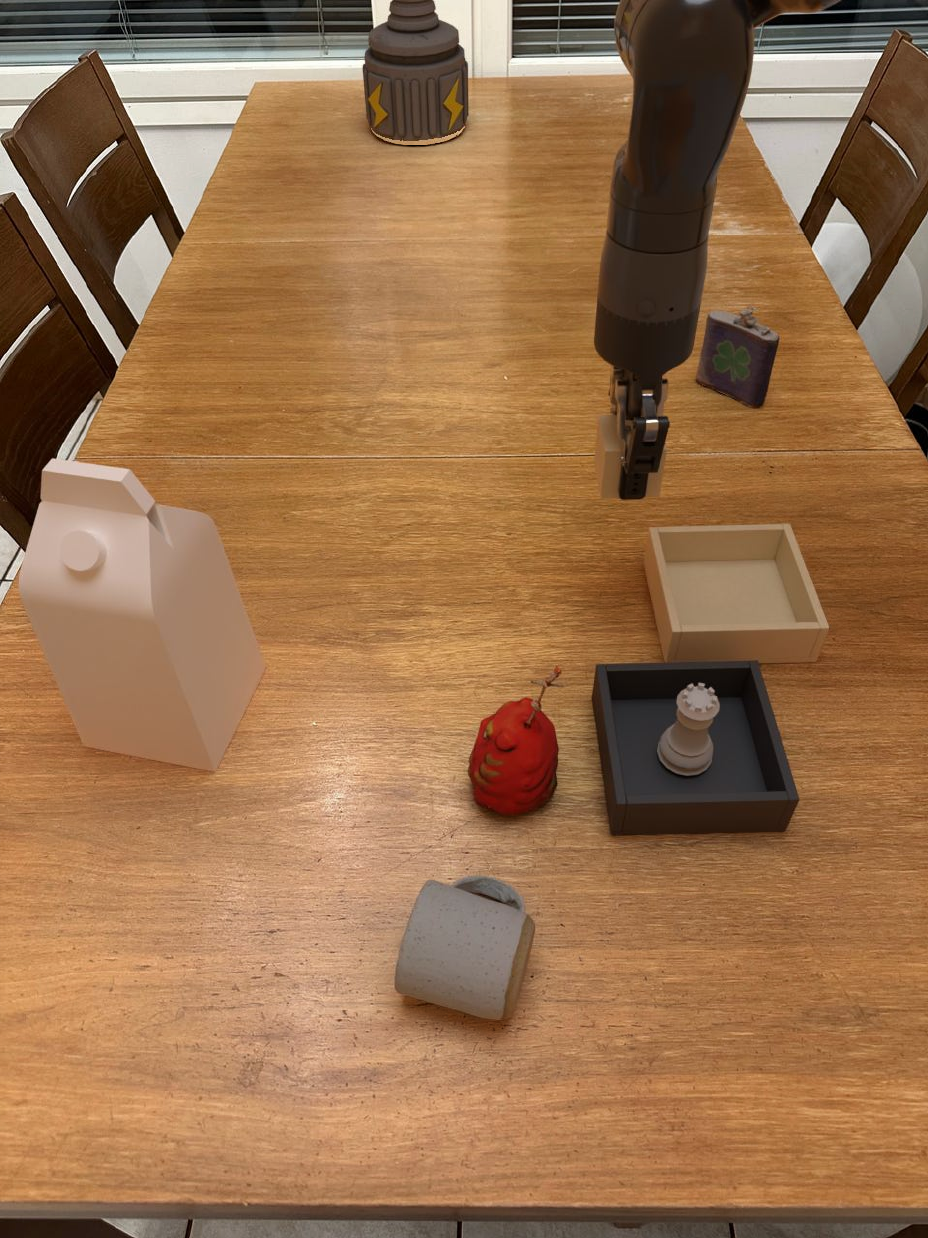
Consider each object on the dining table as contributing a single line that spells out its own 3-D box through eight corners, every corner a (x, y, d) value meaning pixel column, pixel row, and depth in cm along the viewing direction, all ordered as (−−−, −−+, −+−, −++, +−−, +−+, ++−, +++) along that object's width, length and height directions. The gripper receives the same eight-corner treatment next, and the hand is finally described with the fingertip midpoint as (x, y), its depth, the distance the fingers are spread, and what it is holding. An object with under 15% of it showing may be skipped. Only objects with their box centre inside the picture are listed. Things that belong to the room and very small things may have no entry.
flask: (691, 381, 116) (706, 300, 108) (705, 371, 117) (721, 290, 109) (756, 411, 111) (777, 328, 103) (770, 401, 113) (792, 318, 105)
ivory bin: (779, 558, 94) (790, 523, 91) (816, 662, 85) (829, 628, 82) (642, 561, 94) (648, 526, 91) (665, 666, 85) (672, 631, 82)
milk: (266, 667, 86) (203, 430, 66) (215, 772, 78) (128, 538, 59) (144, 646, 88) (49, 410, 68) (83, 746, 80) (-43, 512, 61)
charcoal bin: (746, 694, 83) (757, 659, 79) (785, 831, 73) (800, 799, 70) (591, 697, 83) (595, 663, 79) (610, 835, 73) (616, 804, 70)
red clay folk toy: (491, 736, 80) (492, 615, 69) (570, 762, 78) (584, 642, 67) (456, 809, 75) (451, 691, 64) (539, 838, 73) (549, 722, 62)
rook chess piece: (666, 726, 80) (680, 665, 74) (718, 745, 78) (737, 684, 72) (649, 766, 77) (662, 706, 71) (702, 787, 76) (720, 727, 70)
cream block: (650, 460, 83) (657, 412, 80) (659, 497, 80) (667, 449, 76) (593, 462, 83) (598, 414, 80) (600, 499, 80) (605, 451, 76)
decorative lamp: (491, 126, 173) (492, -74, 151) (417, 157, 163) (407, -51, 141) (418, 101, 182) (409, -91, 160) (345, 130, 172) (324, -70, 150)
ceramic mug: (511, 1044, 63) (515, 997, 57) (395, 1010, 64) (387, 961, 59) (546, 901, 70) (552, 847, 64) (440, 874, 72) (437, 819, 66)
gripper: (721, 342, 64) (685, 530, 76) (684, 244, 74) (657, 425, 86) (610, 345, 64) (592, 533, 76) (587, 247, 74) (575, 427, 86)
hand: (626, 475), depth 81 cm, fingers closed on cream block, 5 cm apart
